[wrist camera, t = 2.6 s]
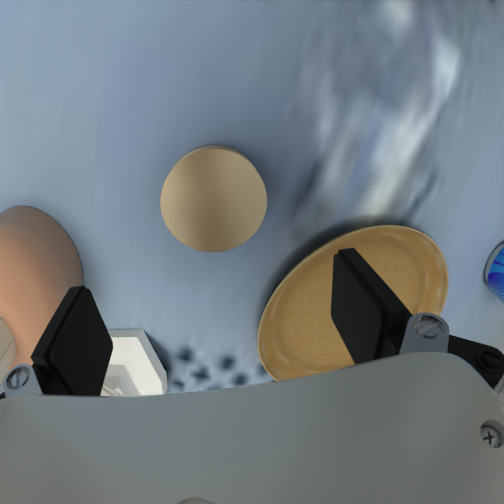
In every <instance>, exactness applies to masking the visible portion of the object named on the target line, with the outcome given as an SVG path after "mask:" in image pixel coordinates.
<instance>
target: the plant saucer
mask: <svg viewBox="0 0 504 504" xmlns="http://www.w3.org/2000/svg"><path fill="white" fill-rule="evenodd" d="M346 248H355V249H356V250H357V252H358V253H359V254H360V255H361V256H362V257H363V258H364V259H365V260H366V261H367V263H368V264H369V265H370V266H371V267H372V268H373V269H374V270H375V272H376V273H377V274H378V275H379V276H380V277H381V278H382V279H383V280H384V282H385V283H386V284H387V285H388V286H389V287H390V289H391V290H392V291H393V292H394V293H395V294H396V296H397V297H398V298H399V299H400V300H401V301H402V303H403V304H404V305H405V306H406V307H407V309H408V310H409V311H410V312H411V313H412V315H415V314H418V313H424V312H426V313H432V314H435V315H438V316H439V317H440V314H441V312H442V310H443V307H444V304H445V300H446V296H447V291H448V269H447V265H446V261H445V259H444V256H443V254H442V252H441V250H440V249H439V247H438V246H437V245H436V243H435V242H434V241H433V240H432V239H431V238H430V237H428V236H427V235H425V234H424V233H422V232H420V231H418V230H415V229H413V228H409V227H406V226H399V225H376V226H369V227H364V228H360V229H356V230H353V231H350V232H347V233H345V234H342V235H340V236H338V237H335V238H334V239H332V240H330V241H328V242H326V243H324V244H323V245H321V246H320V247H318V248H316V249H315V250H314V251H312V252H311V253H309V254H308V255H307V256H305V257H304V258H303V259H302V260H301V261H300V262H298V263H297V264H296V265H295V266H294V267H293V268H292V269H291V270H290V271H289V272H288V273H287V275H286V276H285V277H284V278H283V279H282V281H281V282H280V283H279V285H278V286H277V287H276V289H275V290H274V292H273V293H272V295H271V297H270V299H269V300H268V302H267V305H266V307H265V309H264V311H263V314H262V317H261V320H260V323H259V327H258V333H257V349H258V354H259V358H260V360H261V362H262V364H263V367H264V368H265V370H266V371H267V372H268V373H269V375H270V376H271V377H272V378H273V379H275V380H276V381H280V380H285V379H291V378H296V377H301V376H306V375H311V374H316V373H321V372H325V371H330V370H334V369H339V368H343V367H347V366H351V365H355V363H354V361H353V359H352V357H351V356H350V354H349V352H348V350H347V348H346V346H345V344H344V342H343V340H342V338H341V336H340V334H339V332H338V330H337V328H336V327H335V325H334V323H333V321H332V318H331V296H332V278H333V257H334V254H338V250H340V249H346Z"/></svg>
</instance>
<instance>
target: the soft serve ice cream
mask: <svg viewBox="0 0 504 504" xmlns="http://www.w3.org/2000/svg"><path fill="white" fill-rule="evenodd" d="M107 331H108V333H109V335H110V337H111V339H112V342H113V351H112V355H111V358H110V362H109V365H108V369H107V372H106V376H105V379H104V383H103V387H102V391H101V395H100V396H134V395H157V394H166V392H167V389H168V387H167V377H166V371H165V369H164V368H163V366H162V364H161V362H160V360H159V359H158V357H157V355H156V353H155V351H154V349H153V347H152V345H151V343H150V342H149V340H148V338H147V336H146V334H145V332H144V330H143V329H137V330H107Z"/></svg>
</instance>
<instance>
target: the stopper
mask: <svg viewBox="0 0 504 504" xmlns="http://www.w3.org/2000/svg"><path fill="white" fill-rule="evenodd" d="M160 206H161V213H162V216H163V219H164V222H165V224H166V226H167V227H168V229H169V230H170V232H171V233H172V234H173V235H174V236H175V237H176V238H177V239H178V240H179V241H181V242H182V243H183V244H185V245H187V246H189V247H191V248H193V249H196V250H200V251H205V252H221V251H226V250H230V249H233V248H235V247H237V246H240V245H241V244H243V243H245V242H246V241H247V240H248V239H250V238H251V237H252V236H253V235H254V234H255V233H256V231H257V230H258V229H259V227H260V225H261V224H262V222H263V219H264V217H265V213H266V208H267V194H266V189H265V185H264V183H263V180H262V178H261V177H260V175H259V173H258V172H257V170H256V169H255V167H254V166H253V164H252V163H251V162H250V160H249V159H248V158H247V157H246V156H244V155H243V154H242V153H240V152H239V151H237V150H235V149H233V148H230V147H227V146H223V145H206V146H201V147H198V148H195V149H193V150H191V151H189V152H188V153H186V154H185V155H184V156H182V157H181V158H180V159H179V160H178V161H177V163H176V164H175V165H174V167H173V168H172V170H171V172H170V173H169V175H168V177H167V178H166V180H165V182H164V185H163V188H162V191H161V198H160Z"/></svg>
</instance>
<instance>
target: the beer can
mask: <svg viewBox="0 0 504 504" xmlns="http://www.w3.org/2000/svg"><path fill="white" fill-rule="evenodd" d="M485 278H486V280H487V286H488V288H489V289H490V290H491V291H492V292H493V293H494V294H495V295H496V296H497V297H498V298H499V299H500V300H501V301H502V302H503V303H504V243H502V244H501V245H499V246H498V247H497V248H496V249H495V250H494V252H493V253H492V255H491V256H490V258H489V260H488V263H487V266H486V270H485Z"/></svg>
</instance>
